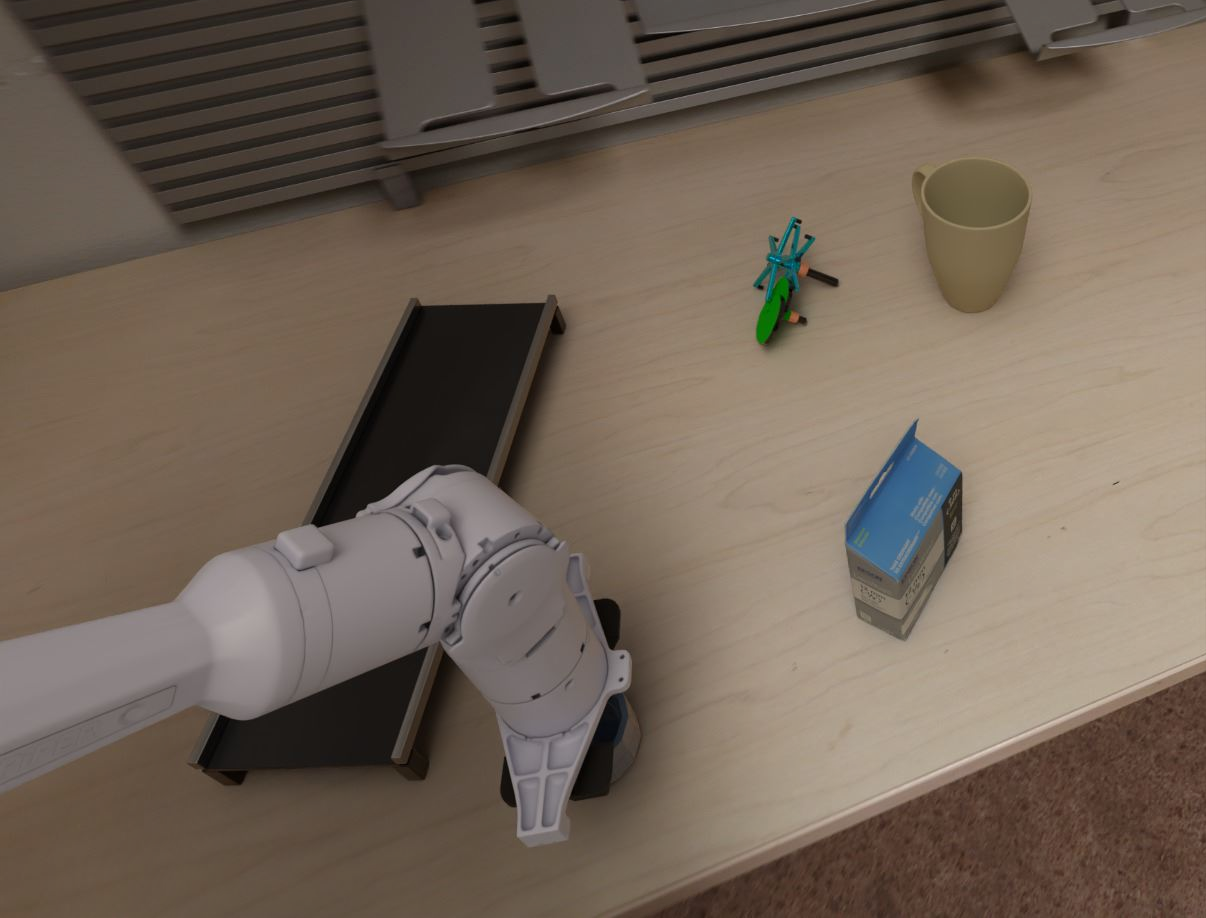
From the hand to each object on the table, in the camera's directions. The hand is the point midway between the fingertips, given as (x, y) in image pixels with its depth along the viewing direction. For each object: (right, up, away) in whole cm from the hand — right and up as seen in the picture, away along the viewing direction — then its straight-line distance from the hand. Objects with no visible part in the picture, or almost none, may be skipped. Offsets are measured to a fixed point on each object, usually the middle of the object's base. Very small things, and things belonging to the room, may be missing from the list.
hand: (594, 739), depth 56 cm
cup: (0, -1, +1) cm, 1 cm away
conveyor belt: (-16, +10, +13) cm, 23 cm away
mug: (+24, +26, +28) cm, 45 cm away
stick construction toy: (+9, +24, +27) cm, 38 cm away
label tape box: (+19, +7, +9) cm, 22 cm away
